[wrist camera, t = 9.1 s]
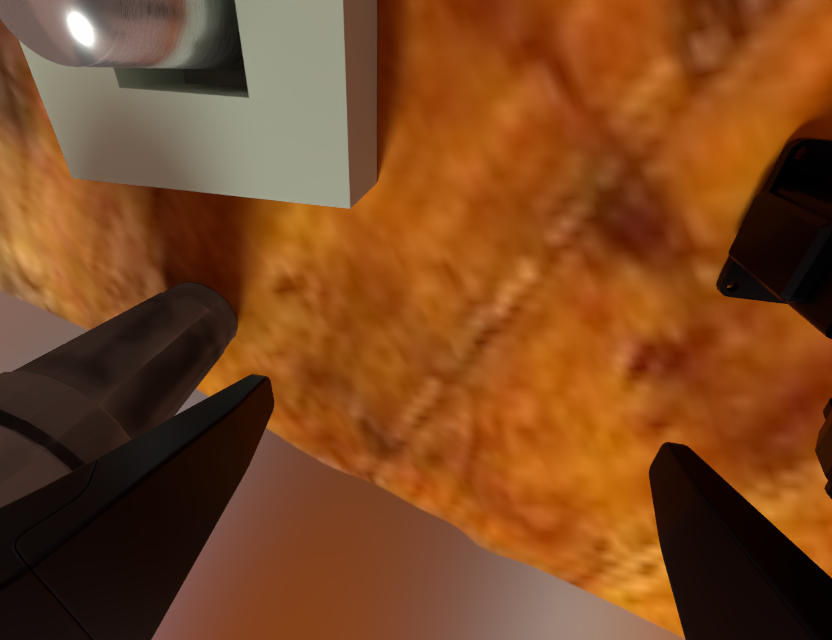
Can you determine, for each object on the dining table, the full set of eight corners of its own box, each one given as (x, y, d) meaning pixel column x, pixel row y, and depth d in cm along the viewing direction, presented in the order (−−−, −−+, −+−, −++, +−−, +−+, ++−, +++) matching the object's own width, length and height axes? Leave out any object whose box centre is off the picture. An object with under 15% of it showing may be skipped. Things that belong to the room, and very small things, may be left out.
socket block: (377, -219, 13) (332, -322, 9) (377, 183, 19) (350, 208, 16) (35, -212, 14) (-112, -298, 11) (142, 159, 20) (72, 178, 17)
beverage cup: (127, 257, 24) (-748, 710, 7) (242, 263, 23) (-489, 825, 6) (169, 357, 28) (-336, 805, 11) (270, 367, 26) (-126, 886, 10)
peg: (266, -36, 15) (89, -124, 8) (274, 74, 17) (133, 75, 10) (177, -45, 15) (-66, -138, 9) (194, 64, 17) (5, 58, 10)
